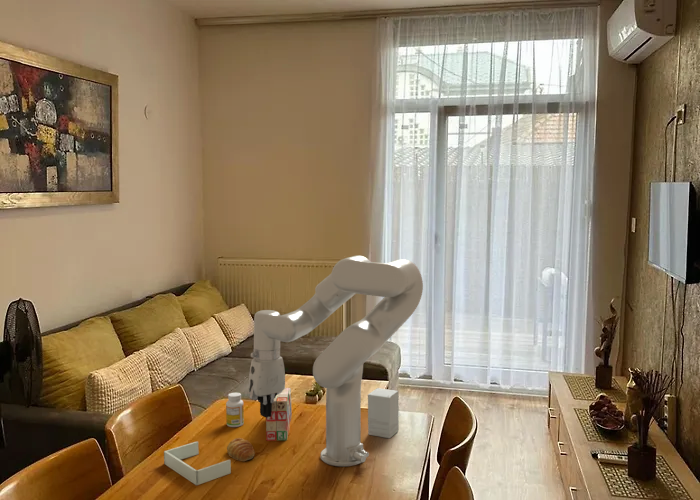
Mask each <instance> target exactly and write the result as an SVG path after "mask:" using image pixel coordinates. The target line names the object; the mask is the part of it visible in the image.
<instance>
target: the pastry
mask: <svg viewBox="0 0 700 500" xmlns="http://www.w3.org/2000/svg"><path fill="white" fill-rule="evenodd" d="M226 450H227V454H228V456H229V457H231V458H232V459H234V460H236V461H238V462H239V461H241V462H245V461H248V460H252V459H254V457H255V456H256V455H255V449H254V446H253V445H252V443H251V442H250V441H249V440H246V439H244V438H241V437H238V438H237V437H236V438H234V439H233V440H231V441H230V442H229V443H228V445H227V447H226Z"/></svg>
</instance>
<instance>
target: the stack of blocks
mask: <svg viewBox="0 0 700 500" xmlns="http://www.w3.org/2000/svg"><path fill="white" fill-rule="evenodd" d="M291 392H292V388H290V387H285V389H284V390H283V391H282V393H280V394H278V395H276V397H275V398H274V402H273V403H272V412H271V417H267V418H265V420H266V421H265V423H266V424H265V426H266V427H265V429H266V430H265V431H266V432H265V433H266V435H265V436H266V438H265V440H266V442H267V441H272V442H273V441H274V442H275V441H288V437H289V434H290V424H291V421H292V395H291V394H292V393H291Z"/></svg>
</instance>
